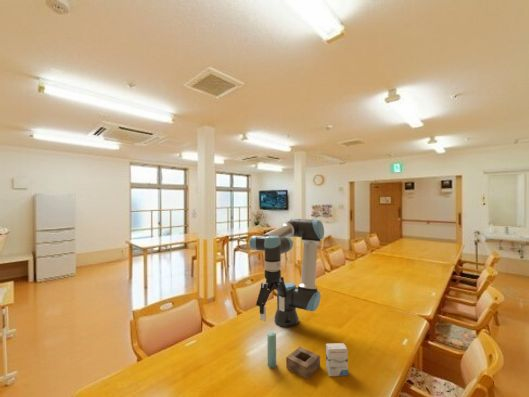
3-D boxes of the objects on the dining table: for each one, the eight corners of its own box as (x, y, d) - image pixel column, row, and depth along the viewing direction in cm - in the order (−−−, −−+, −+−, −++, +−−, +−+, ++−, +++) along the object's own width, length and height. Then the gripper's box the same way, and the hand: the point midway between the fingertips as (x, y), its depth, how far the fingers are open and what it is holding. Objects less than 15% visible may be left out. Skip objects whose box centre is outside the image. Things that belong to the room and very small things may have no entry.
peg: (265, 365, 118) (265, 334, 118) (271, 360, 121) (271, 331, 121) (272, 368, 115) (272, 337, 115) (277, 364, 118) (277, 334, 118)
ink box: (344, 368, 115) (344, 342, 115) (348, 376, 110) (348, 348, 110) (325, 368, 115) (325, 342, 115) (328, 376, 110) (328, 349, 110)
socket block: (286, 368, 116) (286, 357, 116) (299, 356, 124) (299, 346, 124) (307, 379, 108) (307, 367, 108) (320, 366, 117) (319, 355, 117)
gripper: (260, 277, 107) (260, 328, 107) (294, 265, 125) (294, 308, 125) (247, 273, 112) (248, 322, 111) (282, 263, 130) (282, 304, 130)
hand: (272, 315), depth 118 cm, fingers open, 13 cm apart
